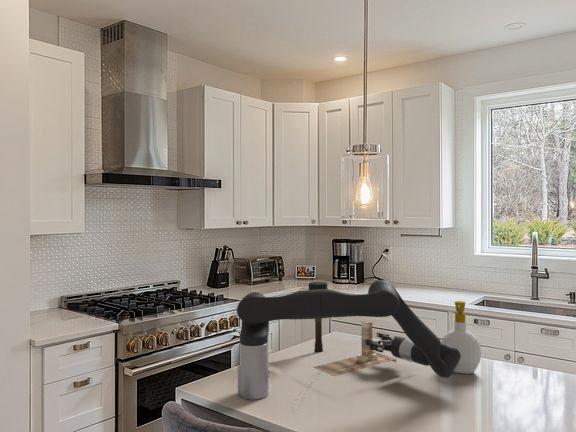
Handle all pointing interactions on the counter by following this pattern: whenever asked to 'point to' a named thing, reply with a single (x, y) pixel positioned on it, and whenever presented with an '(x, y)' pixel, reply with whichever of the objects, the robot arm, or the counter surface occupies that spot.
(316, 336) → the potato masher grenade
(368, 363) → the board
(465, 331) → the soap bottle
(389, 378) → the counter surface
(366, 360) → the tan upright block
